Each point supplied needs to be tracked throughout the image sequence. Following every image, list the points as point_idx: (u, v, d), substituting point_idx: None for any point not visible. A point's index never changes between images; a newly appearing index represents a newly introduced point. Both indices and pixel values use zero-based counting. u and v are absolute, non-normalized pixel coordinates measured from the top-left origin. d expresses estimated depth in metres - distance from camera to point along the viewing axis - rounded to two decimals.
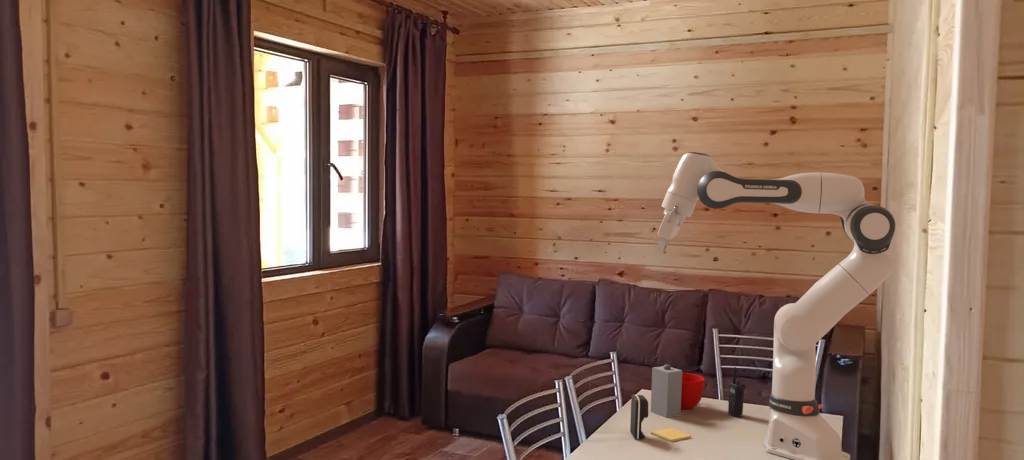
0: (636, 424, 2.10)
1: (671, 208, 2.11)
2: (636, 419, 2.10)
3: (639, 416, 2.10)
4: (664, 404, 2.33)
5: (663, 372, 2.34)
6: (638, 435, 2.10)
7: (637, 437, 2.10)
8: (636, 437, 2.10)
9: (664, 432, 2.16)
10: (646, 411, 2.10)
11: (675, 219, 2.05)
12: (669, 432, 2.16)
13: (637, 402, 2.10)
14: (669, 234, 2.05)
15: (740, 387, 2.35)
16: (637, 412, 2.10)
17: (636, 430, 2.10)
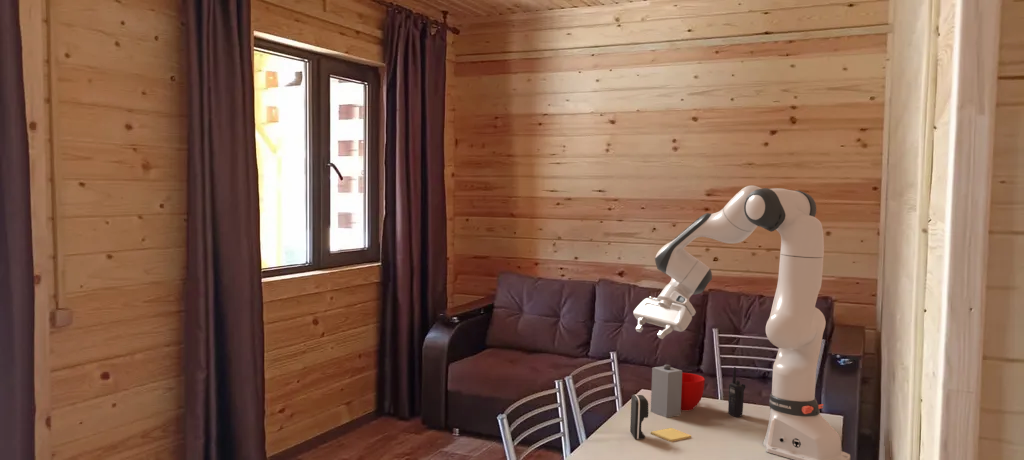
0: (636, 424, 2.10)
1: None
2: (636, 419, 2.10)
3: (640, 416, 2.10)
4: (664, 404, 2.33)
5: (663, 372, 2.34)
6: (638, 435, 2.10)
7: (637, 437, 2.10)
8: (636, 437, 2.10)
9: (664, 432, 2.16)
10: (646, 411, 2.10)
11: None
12: (669, 432, 2.16)
13: (637, 402, 2.10)
14: None
15: (740, 387, 2.35)
16: (637, 412, 2.10)
17: (636, 430, 2.10)
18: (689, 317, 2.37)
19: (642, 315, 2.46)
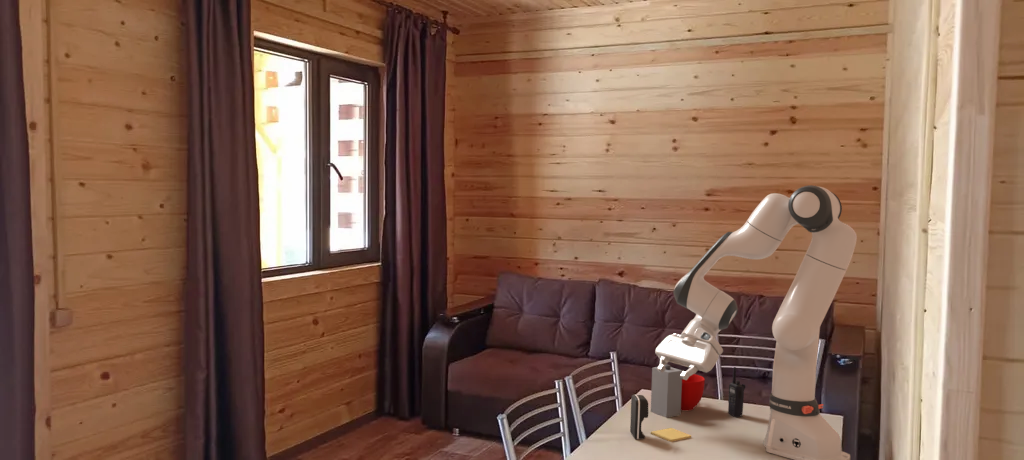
0: (636, 424, 2.10)
1: None
2: (636, 419, 2.10)
3: (639, 416, 2.10)
4: (664, 404, 2.33)
5: None
6: (638, 435, 2.10)
7: (637, 437, 2.10)
8: (636, 437, 2.10)
9: (664, 432, 2.16)
10: (646, 411, 2.10)
11: None
12: (669, 432, 2.16)
13: (637, 402, 2.10)
14: None
15: (740, 387, 2.35)
16: (637, 412, 2.10)
17: (636, 430, 2.10)
18: (715, 356, 2.15)
19: (664, 354, 2.25)
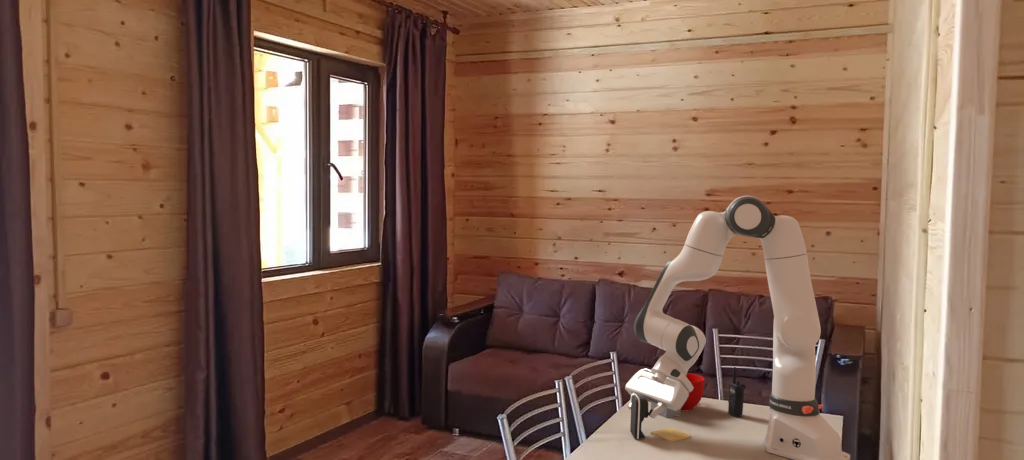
0: (636, 424, 2.10)
1: None
2: (636, 419, 2.10)
3: (640, 416, 2.10)
4: None
5: None
6: (638, 435, 2.10)
7: (637, 437, 2.10)
8: (636, 437, 2.10)
9: (664, 432, 2.16)
10: (646, 411, 2.10)
11: None
12: (669, 432, 2.16)
13: (637, 402, 2.10)
14: None
15: (740, 387, 2.35)
16: (637, 412, 2.10)
17: (636, 430, 2.10)
18: (685, 394, 2.09)
19: (634, 390, 2.19)
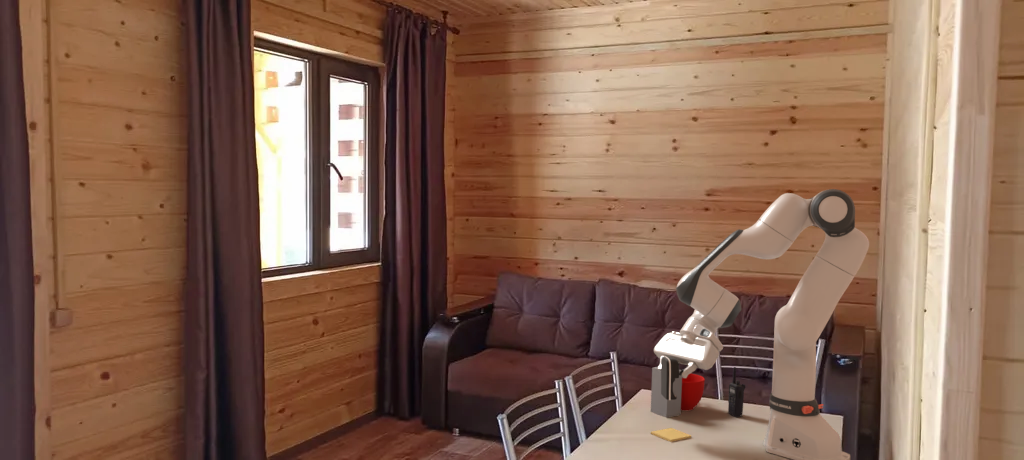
0: (667, 385, 2.10)
1: None
2: (667, 380, 2.10)
3: (671, 377, 2.10)
4: (664, 404, 2.33)
5: None
6: (670, 395, 2.10)
7: (669, 398, 2.10)
8: (668, 398, 2.10)
9: (664, 432, 2.16)
10: (677, 371, 2.10)
11: None
12: (669, 432, 2.16)
13: (668, 363, 2.10)
14: None
15: (740, 387, 2.35)
16: (668, 373, 2.10)
17: (668, 391, 2.10)
18: (716, 353, 2.10)
19: (663, 352, 2.19)
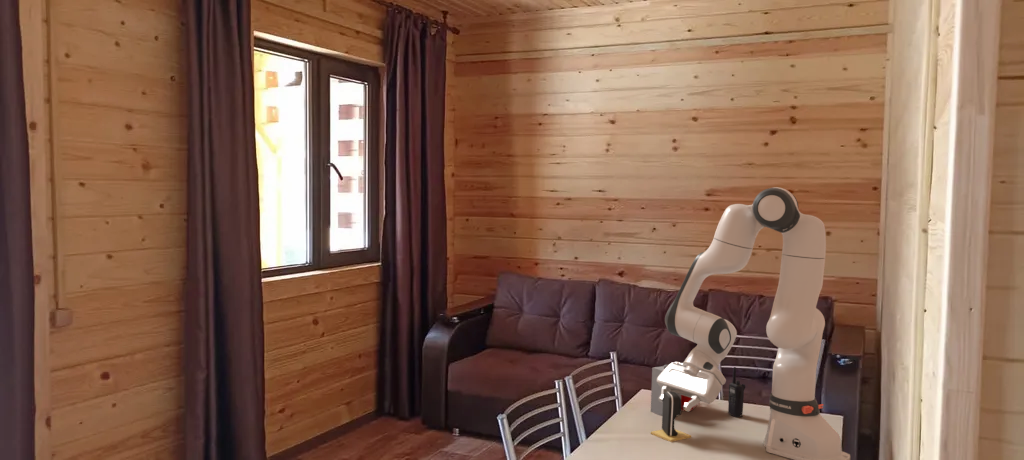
0: (669, 421, 2.12)
1: None
2: (669, 416, 2.12)
3: (673, 413, 2.12)
4: None
5: None
6: (671, 431, 2.12)
7: (670, 434, 2.12)
8: (669, 434, 2.12)
9: (664, 432, 2.16)
10: (679, 408, 2.12)
11: None
12: None
13: (670, 399, 2.12)
14: None
15: (740, 387, 2.35)
16: (670, 409, 2.12)
17: (669, 427, 2.12)
18: (718, 387, 2.11)
19: (666, 383, 2.20)
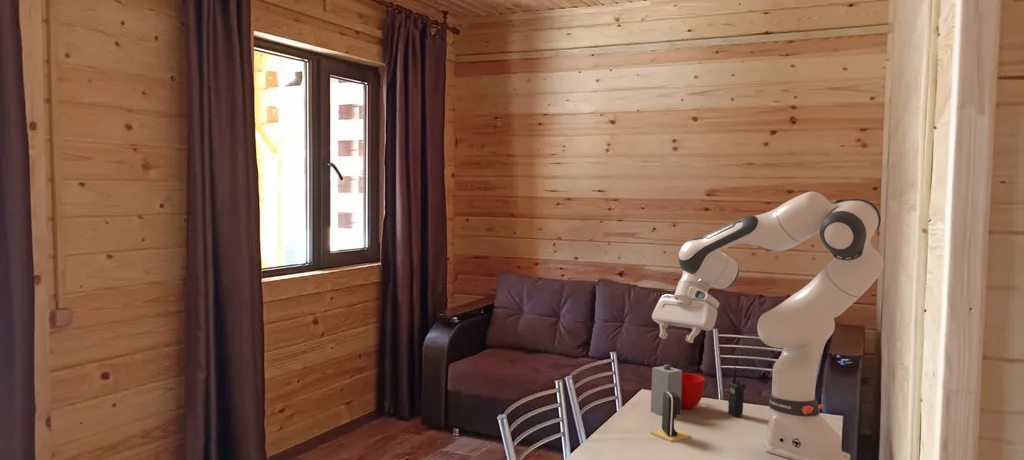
0: (669, 421, 2.12)
1: None
2: (669, 416, 2.12)
3: (672, 413, 2.12)
4: None
5: (663, 372, 2.34)
6: (671, 431, 2.12)
7: (670, 434, 2.12)
8: (669, 434, 2.12)
9: (664, 432, 2.16)
10: (679, 408, 2.12)
11: None
12: None
13: (670, 399, 2.12)
14: None
15: (740, 387, 2.35)
16: (670, 409, 2.12)
17: (669, 427, 2.12)
18: (714, 312, 2.14)
19: (663, 319, 2.23)
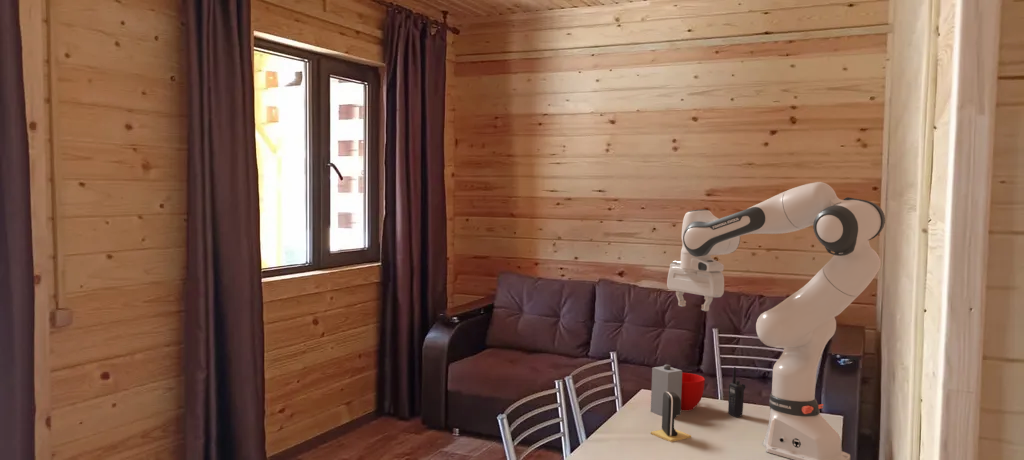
0: (669, 421, 2.12)
1: None
2: (669, 416, 2.12)
3: (672, 413, 2.12)
4: None
5: (663, 372, 2.34)
6: (671, 431, 2.12)
7: (670, 434, 2.12)
8: (669, 434, 2.12)
9: (664, 432, 2.16)
10: (679, 408, 2.12)
11: None
12: None
13: (670, 399, 2.12)
14: None
15: (740, 387, 2.35)
16: (670, 409, 2.12)
17: (669, 427, 2.12)
18: (720, 278, 2.22)
19: (677, 290, 2.33)
